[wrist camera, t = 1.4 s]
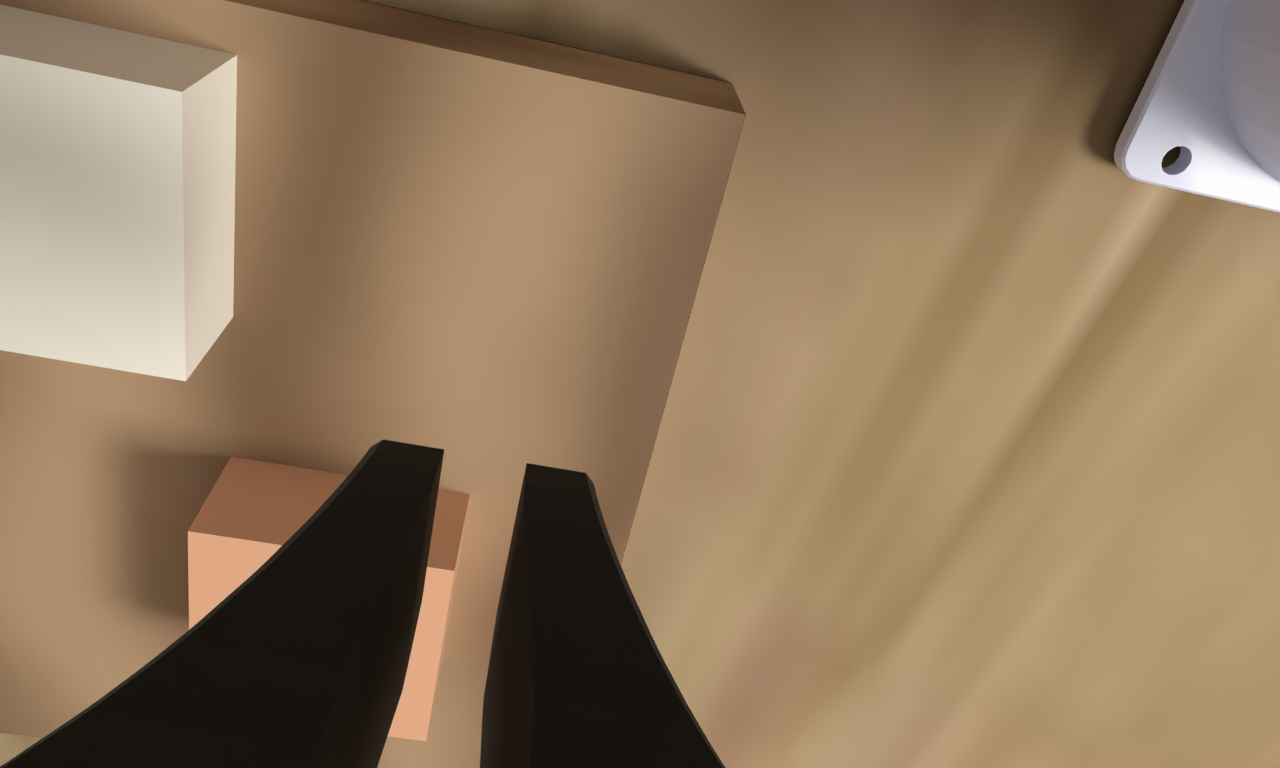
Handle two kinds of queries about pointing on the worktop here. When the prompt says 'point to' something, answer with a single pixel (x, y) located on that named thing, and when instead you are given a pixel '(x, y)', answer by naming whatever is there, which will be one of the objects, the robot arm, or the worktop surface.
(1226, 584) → the worktop surface
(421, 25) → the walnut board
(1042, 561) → the worktop surface
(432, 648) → the terracotta tile
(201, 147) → the cream tile
